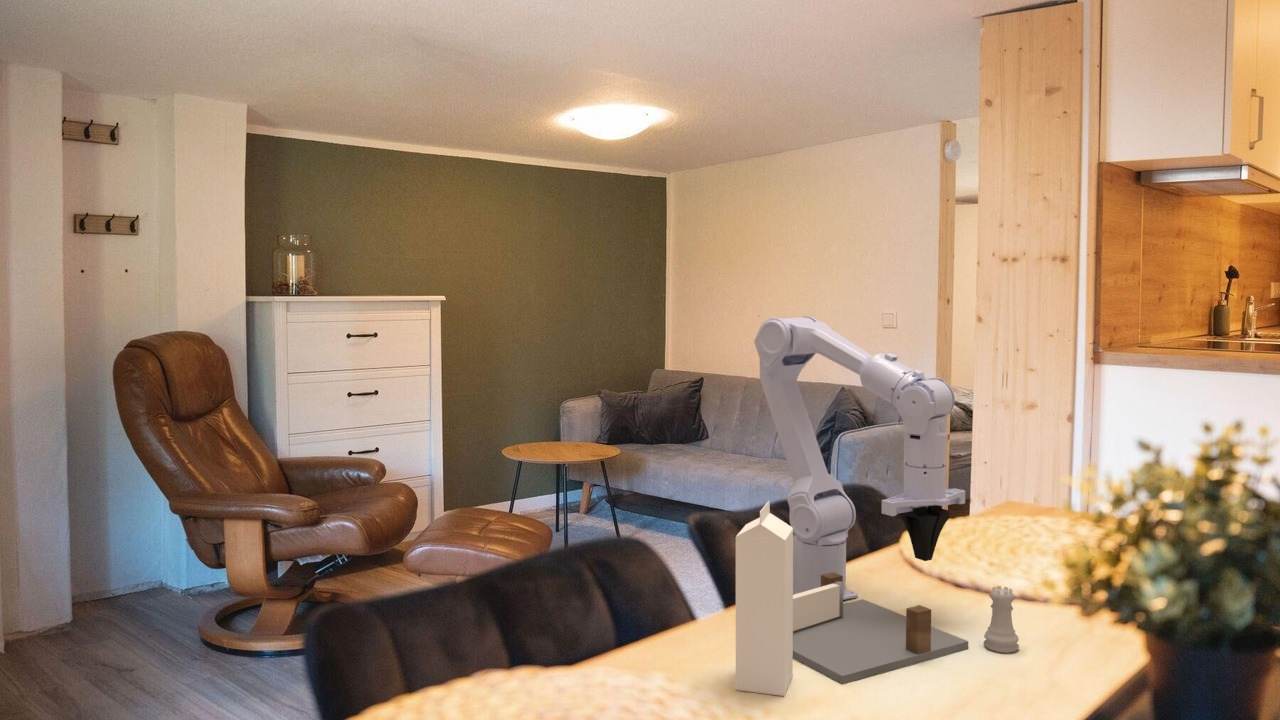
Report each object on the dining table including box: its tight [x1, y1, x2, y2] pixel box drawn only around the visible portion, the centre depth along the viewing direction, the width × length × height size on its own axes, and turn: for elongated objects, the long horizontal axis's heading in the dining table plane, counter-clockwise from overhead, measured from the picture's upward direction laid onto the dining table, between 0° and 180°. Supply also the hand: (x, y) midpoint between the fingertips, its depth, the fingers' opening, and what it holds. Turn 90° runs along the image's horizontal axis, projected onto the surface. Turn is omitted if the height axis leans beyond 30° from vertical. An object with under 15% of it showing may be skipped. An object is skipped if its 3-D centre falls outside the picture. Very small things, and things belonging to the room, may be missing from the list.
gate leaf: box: [793, 581, 844, 631], centre depth 132 cm, size 13×2×5 cm, turn 127°
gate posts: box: [821, 572, 932, 654], centre depth 131 cm, size 19×2×6 cm, turn 30°
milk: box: [735, 500, 794, 697], centre depth 115 cm, size 6×6×22 cm
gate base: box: [793, 598, 969, 685], centre depth 130 cm, size 20×22×1 cm
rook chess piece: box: [983, 585, 1020, 654], centre depth 127 cm, size 4×4×8 cm
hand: (923, 558), depth 136 cm, fingers closed
